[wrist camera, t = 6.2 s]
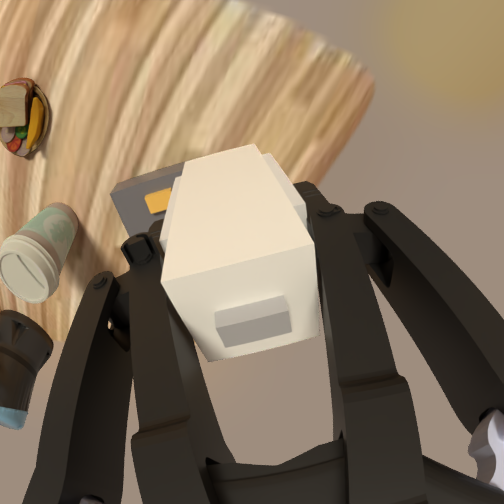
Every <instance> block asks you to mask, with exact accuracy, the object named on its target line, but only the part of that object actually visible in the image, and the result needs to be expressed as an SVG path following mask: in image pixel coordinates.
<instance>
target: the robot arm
mask: <svg viewBox="0 0 504 504" xmlns="http://www.w3.org/2000/svg"><path fill="white" fill-rule="evenodd" d="M262 156H263V158H264V160H265V161H266V163H267V164H268V166H269V168H270V169H271V171H272V172H273V174H274V176H275V177H276V179H277V181H278V182H279V184H280V185H281V187H282V189H283V190H284V192H285V194H286V195H287V197H288V199H289V200H290V202H291V204H292V206H293V207H294V209H295V211H296V212H297V214H298V216H299V217H300V219H301V221H302V223H303V224H304V226H305V228H306V230H307V231H308V233H309V235H310V237H311V238H312V240H313V242H314V247H315V259H316V272H317V284H318V290H319V297H320V304H321V311H322V318H323V325H324V333H325V340H326V349H327V358H328V366H329V377H330V387H331V398H332V409H333V441H332V442H329V443H325V444H322V445H318V446H316V447H314V448H313V449H311V450H309V451H307V452H305V453H303V454H301V455H299V456H297V457H295V458H293V459H291V460H289V461H286V462H284V463H282V464H280V465H276V466H269V465H252V464H240V463H236V461H235V459H234V457H233V455H232V453H231V452H230V450H229V449H228V447H227V445H226V444H225V441H224V439H223V436H222V433H221V430H220V427H219V424H218V421H217V418H216V415H215V412H214V409H213V406H212V403H211V400H210V397H209V394H208V390H207V387H206V384H205V380H204V377H203V373H202V370H201V367H200V363H199V360H198V356H197V352H196V349H195V345H194V341H193V337H192V335H191V334H190V332H189V331H188V329H187V327H186V326H185V324H184V322H183V321H182V319H181V317H180V315H179V314H178V312H177V310H176V309H175V307H174V305H173V303H172V302H171V300H170V298H169V296H168V295H167V293H166V291H165V289H164V287H163V286H162V284H161V276H162V270H163V264H164V258H165V253H166V247H167V242H168V236H169V231H170V226H171V221H172V216H173V211H174V207H175V202H176V198H177V193H178V189H179V184H180V180H181V176H179V177H176V178H175V181H174V184H173V188H172V192H171V195H170V199H169V203H168V207H167V211H166V214H165V218H164V219H161V220H157V221H155V222H154V223H153V224H152V225H151V226H150V228H149V230H148V232H141V233H138V234H135V235H133V236H131V237H130V238H129V239H127V240H126V241H125V242H124V243H123V244H122V246H121V250H122V252H123V254H124V256H125V258H126V259H127V261H128V263H129V265H130V271H128V272H126V273H124V274H123V275H121V276H119V277H117V278H115V277H114V275H113V273H112V272H109V271H106V272H102V273H99V274H97V275H96V276H94V278H93V279H92V280H91V281H90V282H89V284H88V286H87V288H86V290H85V293H84V295H83V297H82V300H81V302H80V305H79V307H78V309H77V312H76V315H75V317H74V320H73V322H72V325H71V328H70V330H69V333H68V336H67V339H66V342H65V345H64V348H63V350H62V354H61V357H60V360H59V363H58V366H57V369H56V373H55V376H54V380H53V383H52V387H51V391H50V395H49V399H48V403H47V407H46V412H45V416H44V421H43V425H42V430H41V436H40V442H39V448H38V454H37V462H36V468H35V470H34V473H33V475H32V478H31V480H30V483H29V486H28V489H27V491H26V494H25V497H24V500H23V503H22V504H121V498H122V492H123V478H124V456H125V442H126V430H127V420H128V410H129V402H130V393H131V386H132V379H133V380H134V390H135V398H136V406H137V414H138V420H139V431H138V432H137V433H136V434H134V435H133V436H132V439H131V451H132V456H133V462H134V467H135V472H136V477H137V482H138V486H139V490H140V494H141V498H142V502H143V504H504V320H503V318H502V317H501V316H500V314H499V313H498V312H497V311H496V309H495V308H494V307H493V306H492V305H491V303H490V302H489V301H488V300H487V298H486V297H485V296H484V295H483V294H482V292H481V291H480V290H479V289H478V288H477V287H476V286H475V285H474V283H473V282H472V281H471V280H470V279H469V278H468V277H467V276H466V275H465V273H464V272H463V271H461V269H460V268H459V267H458V266H457V265H456V264H455V263H454V262H453V261H452V260H451V259H450V258H449V257H448V256H447V255H446V254H445V253H444V252H443V251H442V250H441V249H440V248H439V247H438V246H437V245H436V244H435V243H434V242H433V241H432V240H431V239H430V238H429V237H428V236H427V235H426V234H425V233H424V232H423V231H422V230H421V229H419V228H418V227H417V226H416V225H415V224H414V223H413V222H411V220H409V219H408V218H407V217H406V216H405V215H404V214H403V213H401V212H400V211H399V210H398V209H397V208H396V207H395V206H393V205H391V204H390V203H386V202H383V201H381V202H380V201H376V202H371V203H369V204H367V205H366V206H365V207H364V214H347V213H345V212H344V210H343V209H342V208H341V207H340V206H338V205H335V204H330V203H329V202H328V201H327V200H326V198H325V197H324V196H323V195H322V194H321V192H320V191H319V190H318V189H317V188H316V186H315V185H314V184H312V183H309V182H307V181H304V182H300V183H295V184H292V183H291V182H290V180H289V179H288V177H287V176H286V174H285V173H284V172H283V170H282V169H281V168H280V166H279V165H278V163H277V162H276V161H275V159H274V158H273V157H272V155H271V154H270V153H267V154H263V155H262ZM368 274H369V275H370V276H371V278H372V279H373V281H374V282H375V283H376V285H377V286H378V288H379V289H380V291H381V292H382V294H383V295H384V296H385V298H386V299H387V301H388V302H389V304H390V305H391V307H392V308H393V309H394V311H395V313H396V314H397V315H398V317H399V318H400V320H401V322H402V323H403V325H404V326H405V328H406V329H407V331H408V333H409V334H410V336H411V337H412V339H413V340H414V342H415V344H416V345H417V347H418V348H419V350H420V352H421V354H422V355H423V357H424V358H425V360H426V362H427V364H428V365H429V367H430V369H431V370H432V372H433V374H434V376H435V377H436V379H437V381H438V382H439V384H440V386H441V388H442V390H443V392H444V393H445V395H446V397H447V399H448V401H449V403H450V405H451V407H452V408H453V410H454V411H455V413H456V415H457V417H458V418H459V420H460V421H461V423H462V424H463V425H464V427H465V428H466V429H467V431H468V432H469V433H471V435H472V438H471V443H470V444H469V446H468V452H469V455H470V456H471V457H473V458H474V459H475V460H476V462H477V467H478V472H477V477H476V479H474V478H472V477H469V476H467V475H465V474H463V473H460V472H458V471H456V470H453V469H451V468H449V467H447V466H445V465H443V464H440V463H438V462H436V461H434V460H432V459H430V458H428V457H426V456H424V455H422V451H421V445H420V438H419V432H418V426H417V421H416V416H415V411H414V406H413V401H412V397H411V392H410V389H409V385H408V382H407V381H406V379H405V377H403V376H400V375H399V374H398V372H397V370H396V366H395V362H394V358H393V354H392V350H391V347H390V343H389V339H388V336H387V332H386V328H385V325H384V322H383V318H382V315H381V312H380V309H379V305H378V302H377V299H376V296H375V293H374V290H373V287H372V284H371V281H370V278H369V275H368ZM108 321H109V322H110V323H111V328H110V329H109V328H108ZM53 347H54V343H53V340H51V339H50V337H49V336H48V334H47V333H46V332H45V331H44V330H43V329H42V328H41V327H40V326H39V325H38V324H37V323H36V322H34V321H33V320H32V319H30V318H29V317H27V316H25V315H23V314H21V313H19V312H16V311H13V310H3V311H1V312H0V425H2V426H5V427H8V428H11V429H15V430H19V429H22V428H23V426H24V423H25V420H26V416H27V414H28V408H29V403H30V399H31V395H32V391H33V387H34V383H35V380H36V376H37V373H38V372H39V370H40V369H41V368H42V366H43V365H44V364H45V363H46V361H47V360H48V359H49V358H50V356H51V353H52V350H53Z"/></svg>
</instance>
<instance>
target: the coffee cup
mask: <svg viewBox="0 0 504 504" xmlns="http://www.w3.org/2000/svg"><path fill="white" fill-rule="evenodd" d="M77 230H78V220H77V217H76V215H75V213H74V212H73V210H72V209H71V208H70V207H68V206H67V205H65V204H63V203H58V202H56V203H52V204H50V205H49V206H48V207H46V208H45V209H44V210H42V211H41V212H40V213H39V214H38V215H36V216H35V217H34V218H33V219H32V220H30V221H29V222H28V223H27V224H26V225H25V226H23V227H22V228H21V229H20V230H19V231H18V232H17V233H16V234H14V235H12V236H10V237H8V238H7V239H6V240H5V241H4V242H3V244H2V246H1V248H0V277H1V279H2V281H3V283H4V284H5V286H6V287H7V288H8V289H9V290H10V291H11V292H12V293H13V294H14V295H15V296H17V297H18V298H20V299H22V300H24V301H26V302H29V303H41V302H43V301H45V300H46V299H47V298H48V297H50V296H51V295H52V294H53V293H54V292H55V291H56V289H57V288H58V285H59V276H60V273H61V270H62V268H63V265H64V262H65V260H66V257H67V255H68V252H69V250H70V247H71V245H72V242H73V240H74V238H75V235H76V233H77Z"/></svg>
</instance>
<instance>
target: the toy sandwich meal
mask: <svg viewBox="0 0 504 504" xmlns="http://www.w3.org/2000/svg"><path fill="white" fill-rule="evenodd" d="M34 84H35V83H34V81H33V80H32V79H29V78H18V79H14V80H12V81H10V82H8V83H6V84H5V85H4V86H2V87H1V88H0V140H1V142H2V144H3V145H4V147H5V148H6V149H7V150H8V151H10V152H11V153H13V154H16V155H20V156H25V155H27V154H29V153H31V152H32V151H34V150H35V149H36V148H37V147H38V146H39V145H40V143H41V142H42V140H43V138H44V136H45V134H46V131H47V127H48V121H49V110H48V104H47V101H46V98H45V96H44V95H43V93H42V92H41V90H40V89H39V88H37V87H36V86H34Z"/></svg>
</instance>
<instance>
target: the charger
mask: <svg viewBox="0 0 504 504" xmlns="http://www.w3.org/2000/svg"><path fill="white" fill-rule="evenodd" d="M161 284H162V286H163V287H164V289H165V291H166V293H167V295H168V296H169V298H170V300H171V302H172V303H173V305H174V307H175V309H176V310H177V312H178V314H179V315H180V317H181V319H182V321H183V322H184V324H185V326H186V327H187V329H188V331H189V332H190V334H191V335H192V337H193V339H194V340H195V342H196V343H197V345H198V347H199V348H200V350H201V351H202V353H203V354H204V356H205V358H206V359H207V361H208V362H212V361H218V360H223V359H227V358H232V357H237V356H242V355H246V354H251V353H255V352H259V351H264V350H268V349H272V348H276V347H280V346H284V345H287V344H291V343H295V342H299V341H302V340H306V339H310V338H313V337H316V336H320V327H319V304H318V287H317V272H316V259H315V247H314V242H313V240H312V238H311V237H310V235H309V233H308V231H307V230H306V228H305V226H304V224H303V223H302V221H301V219H300V217H299V216H298V214H297V212H296V211H295V209H294V207H293V206H292V204H291V202H290V200H289V199H288V197H287V195H286V194H285V192H284V190H283V189H282V187H281V185H280V184H279V182H278V181H277V179H276V177H275V176H274V174H273V172H272V171H271V169H270V168H269V166H268V164H267V163H266V161H265V160H264V158H263V156H262V155H261V153H260V152H259V150H258V149H257V147H256V145H255V144H251V145H246V146H242V147H238V148H234V149H230V150H226V151H222V152H218V153H215V154H211V155H207V156H204V157H200V158H197V159H193V160H190V161H186V162H185V164H184V168H183V172H182V176H181V180H180V184H179V189H178V193H177V198H176V202H175V207H174V211H173V216H172V221H171V226H170V231H169V236H168V242H167V247H166V253H165V258H164V264H163V270H162V276H161Z"/></svg>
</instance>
